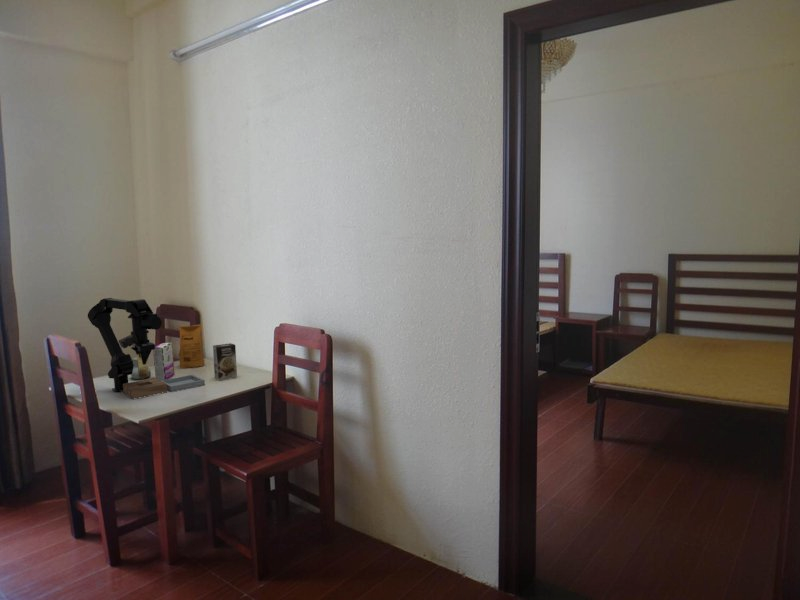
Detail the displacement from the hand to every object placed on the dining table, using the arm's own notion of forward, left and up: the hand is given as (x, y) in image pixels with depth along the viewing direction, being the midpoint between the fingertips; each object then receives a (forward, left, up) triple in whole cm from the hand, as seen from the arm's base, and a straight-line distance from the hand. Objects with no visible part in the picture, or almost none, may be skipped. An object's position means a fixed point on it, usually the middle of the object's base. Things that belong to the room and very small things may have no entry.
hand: (142, 363), depth 241 cm
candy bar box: (-19, +15, -13) cm, 28 cm away
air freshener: (-29, +7, -13) cm, 33 cm away
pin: (0, 0, -6) cm, 6 cm away
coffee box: (+3, +36, -13) cm, 38 cm away
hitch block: (0, 0, -13) cm, 13 cm away
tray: (+1, +16, -13) cm, 21 cm away
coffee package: (-34, +34, -13) cm, 50 cm away
